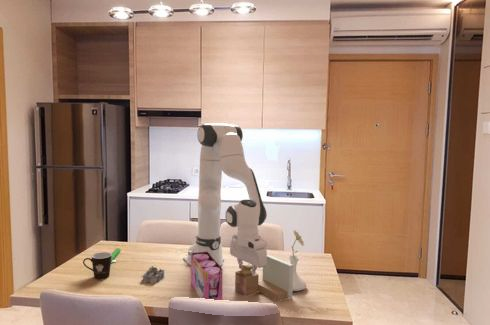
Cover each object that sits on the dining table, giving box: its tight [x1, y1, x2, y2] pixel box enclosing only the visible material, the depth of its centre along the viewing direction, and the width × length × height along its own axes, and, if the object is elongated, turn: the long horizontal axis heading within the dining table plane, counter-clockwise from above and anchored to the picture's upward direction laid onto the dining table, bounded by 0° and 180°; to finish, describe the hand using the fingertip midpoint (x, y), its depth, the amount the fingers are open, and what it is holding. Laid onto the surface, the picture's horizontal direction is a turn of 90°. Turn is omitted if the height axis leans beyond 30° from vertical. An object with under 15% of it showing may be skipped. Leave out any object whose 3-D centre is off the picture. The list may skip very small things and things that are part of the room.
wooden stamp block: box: [234, 263, 260, 297], centre depth 157 cm, size 8×6×11 cm
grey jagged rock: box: [141, 265, 166, 284], centre depth 168 cm, size 11×8×4 cm
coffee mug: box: [82, 251, 112, 280], centre depth 169 cm, size 12×9×10 cm
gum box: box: [190, 252, 223, 301], centre depth 155 cm, size 24×8×14 cm, turn 21°
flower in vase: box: [287, 229, 307, 292], centre depth 162 cm, size 13×11×25 cm
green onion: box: [111, 248, 122, 264], centre depth 187 cm, size 5×3×30 cm
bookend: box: [258, 253, 293, 303], centre depth 156 cm, size 16×7×14 cm, turn 40°
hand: (247, 271), depth 157 cm, fingers open, 6 cm apart
